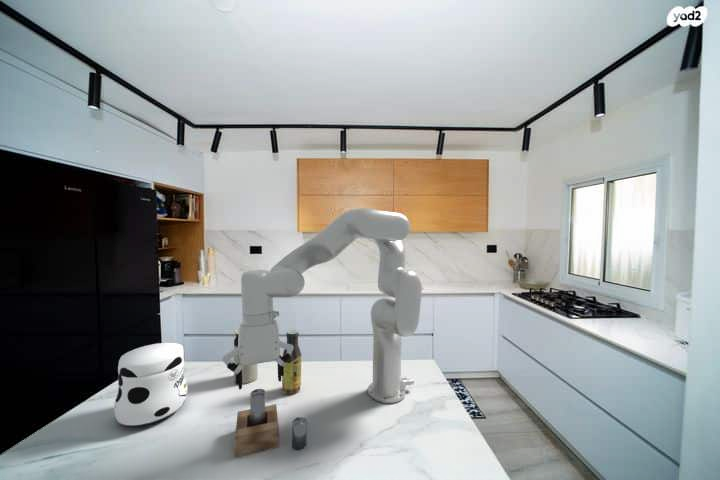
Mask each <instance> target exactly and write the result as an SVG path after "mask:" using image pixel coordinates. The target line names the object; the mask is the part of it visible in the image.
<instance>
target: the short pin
mask: <svg viewBox="0 0 720 480" xmlns="http://www.w3.org/2000/svg"><path fill="white" fill-rule="evenodd" d="M291 422H292V423H291V424H292V425H291V448H292V449H293V451H294V450H295V451H302V450H304V449H305V448H306V447H307V443H308V442H307V439H308V437H307V436H308V435H307V434H308V433H307V431H308V429H307V428H308V426H307V425H308V423H307V422H308V421H307V418H306V417H304V416H298V417H295V418H293V419H292V421H291Z"/></svg>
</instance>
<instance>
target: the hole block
mask: <svg viewBox="0 0 720 480" xmlns="http://www.w3.org/2000/svg"><path fill="white" fill-rule="evenodd" d="M277 407H278V406H277V404H271V405H270V404H269V405H265V424H261V425H256V426H252V427H250V408H249V409H244V410H239V411H237V415H236V416H237V417H236V424H235V426H236V427H235V432H234V458H239V457H243V456H247V455H250V454H251V455H252V454H254V453H259V452H263V451H267V450H271V449H275V448H279V446H280V445H279V444H280V443H279V439H280V438H279V436H280V434H279V433H280V432H279V431H280V430H279V429H280V427H279V417H278V409H277Z"/></svg>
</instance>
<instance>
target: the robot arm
mask: <svg viewBox="0 0 720 480" xmlns="http://www.w3.org/2000/svg"><path fill="white" fill-rule="evenodd" d="M410 231H411V225H410V221H409V219H408V218H407V217H406V216H405V215H403V214H402V213H400V212H393V211H386V210H381V209H380V210H379V209H373V208H365V207H364V208H356V209H349V210H347V211H345V212H343V213H342V214H341V215H339V216H338V217H337V218H336V219H334V220H333V221H332V222H330V224H328V225H327V226H326V227H325V228H324V229H322V230H321V231H320V232H319V233H318V234H317V235H315V236H314V237H313V238H311V239H308V240H307V241H306V242H304V243H303V244H302V245H300V246H298V247H297V248H295V249H293V250H292V251H290V252H289V253H287V255H286V256H284V257H283V258H282V259H281V260H278V262H277V263H275V265H273V266H272V267H271V269H270V270H266V269H252V270H247V271H245V272H243V273H242V274H241V279H240V281H241V282H240V283H241V289H240V290H241V308H242V309H241V311H242V313H241V314H242V322H241V323H240V324H239V328H238V329H239V337H238V347H237V348H236V349H234V348H233V349H232V350H231V351H229V352H227V353H226V354H224V355H223V357H222V361H223V363H224V364H225V366H226V368H227V369H229V370H230V371H231V372H233V375H234V374H235V376H236V382H235V385H236V386H238V391H239V390H242V389H243V384H242V368H243V367H244V366H246V365H252V364H257V365H258V364H264V363H270V362H273V361H275V362H276V363H277V380H278V382H282V376H284V365H285V362H286V361H287V360H288V359H289V358H290V355H291V353H292V351H293V349H294V347H293V345H291V344H288V343H287V342H284V341H281V340H280V333H279V327H278V326H279V325H278V322H277V319H275V318H277V317H280V311H279V310H278V311H277V310H274V298H292V297H295V296H298V295H299V294H300V293H301V292H302V291H303V290H304V287H305V283H306V281H305V277H304V275H303V273H304V272H306V271H307V270H309V269H311V268H313V267H315V266H317V265H321V264H324V263H328V262H330V261H332V260H334V259H336V258H337V257H338V256H339V255H340V254H341V253H342V252H343V251H344V250H346V248H348V247H349V246H350V245H352V243H353V242H354V241H356V240H357V239H359V238H360V239H361V238H362V239H363V238H366V239H373V241H374V242H375V244H376V246H377V247H378V250H379V251H378V252H379V266H378V276H377V288H378V290H379V292H381V293H382V294H384V295H386V296H389V297H392V298H394V299H390V298H386V297H385V298H379V299H377V300H376V301H375V302H374V303H373V304H372V306H371V308H370V309H371V310H370V321H371V322H370V323H371V326H372V327H371V328H372V382H371V383H369V385H368V387H367V393H368V396H369V397H370V398H371V399H373V400H374V401H377V402H379V403H383V404H394V403H397V402H400V401H402V400H403V399H404V398H405V397H406V389H405V388H406V387H407V386H412V385H415V382H414V378H407V376H405V375H404V376H402V337H405V338H406V337H410V336H412V335H413V334H414V333H415V332H416V330H417V329H418V326H419V322H420V312H421V304H422V303H421V302H422V292H423V289H422V288H423V286H422V285H423V284H422V282H421V279H420V277H419V275H418V274H417V273H416V272H415V271H412V270H410V269H405V268H406V266H405V265H406V251H405V247H404V244H403V242H402V241H403V240H404V239H406V238H407V237H408V235H409V233H410ZM281 349H286V350H287V351H286V353H285V354H284V355H283V354H282V355H281ZM237 354H238V361H239V362H238V363H237V364H235V363H234V361H232V358H234V356H236V355H237Z"/></svg>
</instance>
